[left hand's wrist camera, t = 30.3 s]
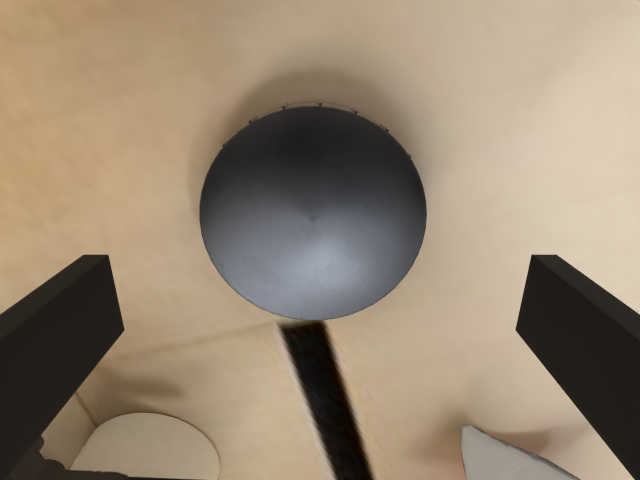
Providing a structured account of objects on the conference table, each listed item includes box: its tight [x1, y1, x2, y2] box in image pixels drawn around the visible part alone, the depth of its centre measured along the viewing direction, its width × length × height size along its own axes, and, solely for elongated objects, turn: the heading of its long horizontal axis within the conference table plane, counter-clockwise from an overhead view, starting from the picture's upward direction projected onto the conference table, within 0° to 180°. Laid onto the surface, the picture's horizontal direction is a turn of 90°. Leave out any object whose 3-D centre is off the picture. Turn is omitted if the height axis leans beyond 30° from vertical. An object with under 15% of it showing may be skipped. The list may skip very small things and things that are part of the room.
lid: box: [200, 100, 427, 320], centre depth 18 cm, size 10×10×2 cm
